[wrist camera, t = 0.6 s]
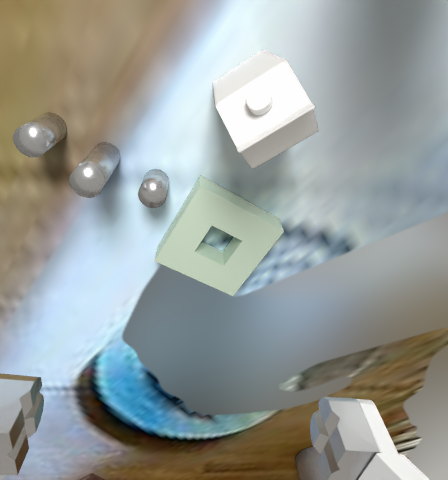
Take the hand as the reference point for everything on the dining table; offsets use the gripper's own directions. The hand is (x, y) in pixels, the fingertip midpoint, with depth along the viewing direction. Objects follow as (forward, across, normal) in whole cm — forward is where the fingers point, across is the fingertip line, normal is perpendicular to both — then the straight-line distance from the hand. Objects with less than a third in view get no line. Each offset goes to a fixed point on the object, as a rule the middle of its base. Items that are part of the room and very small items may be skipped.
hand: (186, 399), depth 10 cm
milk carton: (+42, -6, -4) cm, 43 cm away
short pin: (+42, +5, +10) cm, 44 cm away
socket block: (+42, -6, +17) cm, 46 cm away
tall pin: (+42, +12, +8) cm, 44 cm away
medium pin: (+42, +19, +5) cm, 46 cm away
